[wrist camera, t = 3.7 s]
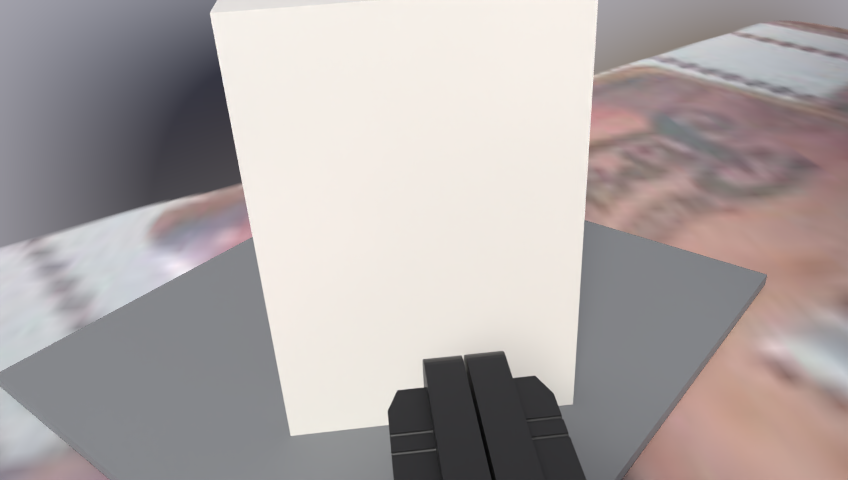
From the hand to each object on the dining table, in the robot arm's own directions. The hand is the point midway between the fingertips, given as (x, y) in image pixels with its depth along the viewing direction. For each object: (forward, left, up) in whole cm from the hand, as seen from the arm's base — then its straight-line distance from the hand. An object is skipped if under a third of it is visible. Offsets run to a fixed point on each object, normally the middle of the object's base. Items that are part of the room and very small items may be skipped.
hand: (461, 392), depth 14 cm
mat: (-10, -11, -10) cm, 18 cm away
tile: (-7, -7, -9) cm, 14 cm away
